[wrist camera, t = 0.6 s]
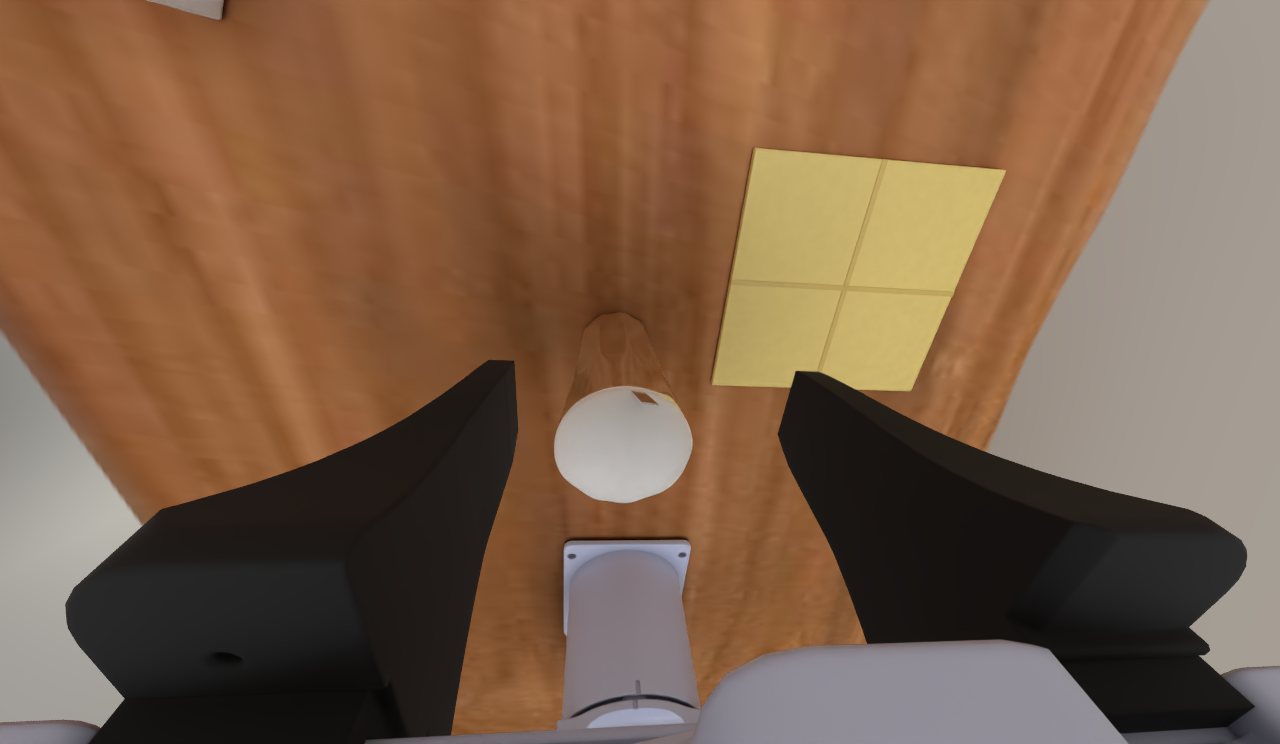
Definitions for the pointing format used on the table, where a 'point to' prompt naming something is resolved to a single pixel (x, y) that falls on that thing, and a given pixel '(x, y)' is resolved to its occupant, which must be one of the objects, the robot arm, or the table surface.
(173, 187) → the table surface
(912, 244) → the napkin
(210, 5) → the ink box
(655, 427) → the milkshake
